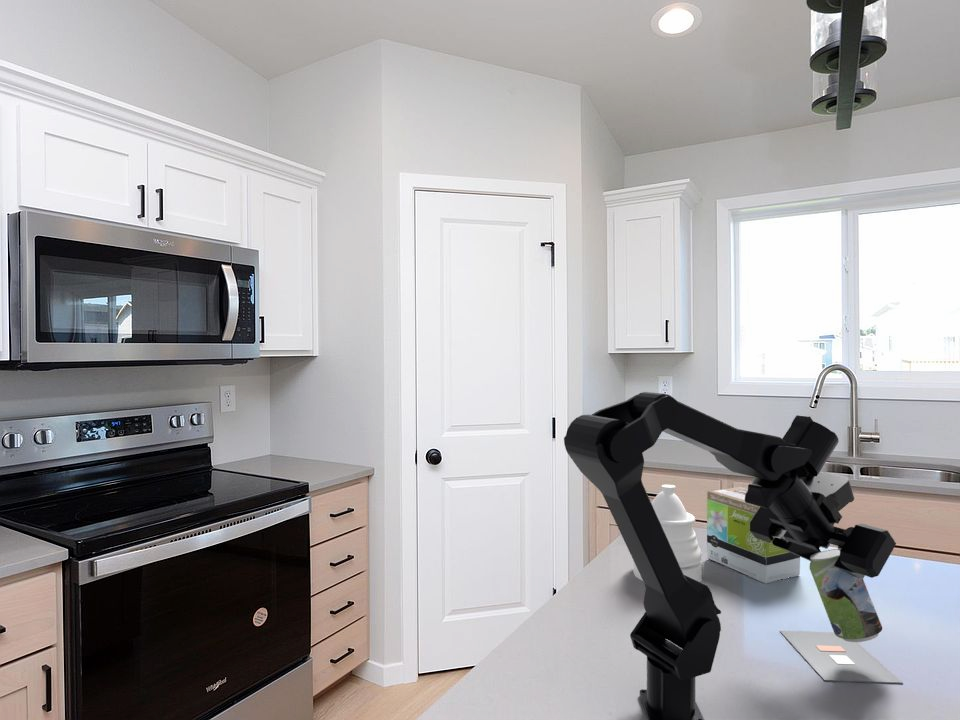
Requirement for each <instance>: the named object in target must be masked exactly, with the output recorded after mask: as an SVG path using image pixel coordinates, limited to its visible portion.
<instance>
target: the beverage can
mask: <svg viewBox="0 0 960 720" xmlns="http://www.w3.org/2000/svg"><path fill="white" fill-rule="evenodd" d="M839 556H840V551H839V549H838V548H835V549H834V548H833V549H827V550H826V549H825V550H821V552H818V553H816V554H813V555H812V556H810V559H811V561H809V562H810V563H809V570H810V573H811V576H812V578H813V581H814V583H815V586H816V588H817V591H818V594H819V597H820V599H821V601H822V604H823V608H824V610H825V612H826V615H827V618H828V620H829V623H830V626H831V628H832V632H834V633H835V635H836V636H837V637H839V638H842V639H843V640H845V641H848V642H857V643H863V642H867V641H871V640H874V639H876V638H878V636H879V634H880V633H881V632H882V631H883V625H882V623H881V621H880V618H879V615H878V613H877V611H876V608H875V605H874V603H873V601H872V598H871V596H870V593H869V591H868V588H867V585H866V583H865V581H864V578H857V577H855V576H853V575H851V574H848V573H846V572H845V571H843V570H841V569H839V568H837V567H835V566H834V564H835V563H836V561H837V559H838V558H839Z"/></svg>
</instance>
